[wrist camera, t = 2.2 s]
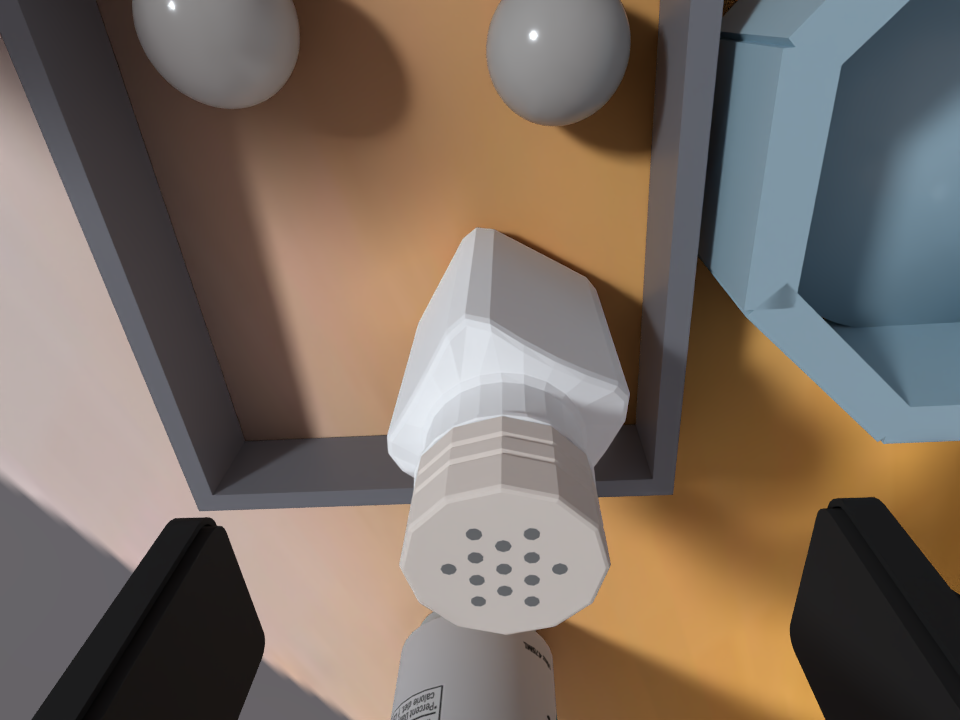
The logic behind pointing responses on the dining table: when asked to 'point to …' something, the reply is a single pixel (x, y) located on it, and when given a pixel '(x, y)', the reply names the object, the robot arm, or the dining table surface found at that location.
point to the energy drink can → (473, 675)
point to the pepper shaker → (507, 439)
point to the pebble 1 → (220, 47)
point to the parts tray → (178, 319)
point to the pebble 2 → (557, 57)
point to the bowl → (844, 199)
